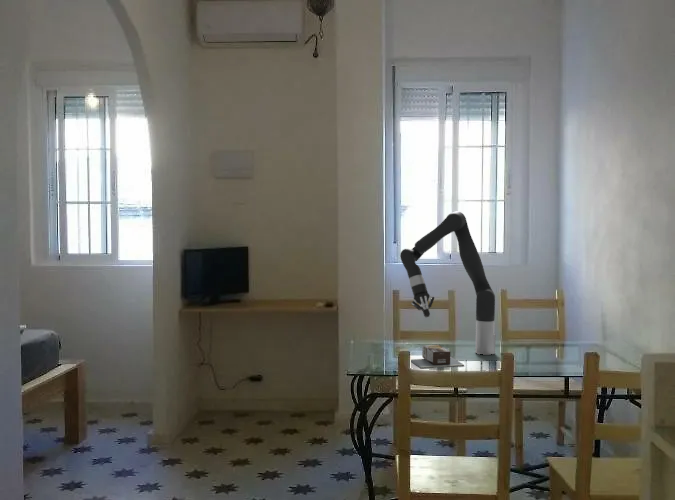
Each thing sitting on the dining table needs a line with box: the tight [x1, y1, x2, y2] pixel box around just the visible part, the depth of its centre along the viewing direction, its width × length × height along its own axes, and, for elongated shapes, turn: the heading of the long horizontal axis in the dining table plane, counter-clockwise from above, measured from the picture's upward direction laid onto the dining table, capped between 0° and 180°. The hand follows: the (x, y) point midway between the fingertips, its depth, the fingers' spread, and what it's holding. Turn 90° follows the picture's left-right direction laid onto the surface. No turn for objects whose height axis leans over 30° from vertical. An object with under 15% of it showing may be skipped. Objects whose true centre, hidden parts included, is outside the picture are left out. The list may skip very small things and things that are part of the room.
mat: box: [410, 356, 465, 370], centre depth 374 cm, size 22×16×1 cm
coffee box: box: [421, 344, 451, 365], centre depth 376 cm, size 9×6×16 cm
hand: (427, 316), depth 397 cm, fingers closed
